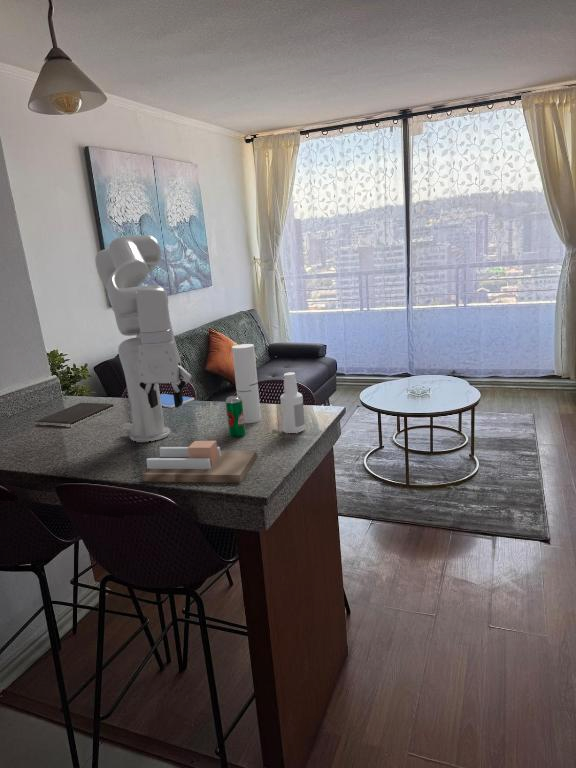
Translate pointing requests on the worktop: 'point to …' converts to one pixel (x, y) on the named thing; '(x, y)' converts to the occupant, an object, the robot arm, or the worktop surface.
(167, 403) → the tablet computer
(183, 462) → the channel
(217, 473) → the board
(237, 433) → the soda can
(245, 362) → the cylindrical container
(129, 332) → the robot arm
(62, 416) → the hardcover book
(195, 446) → the block
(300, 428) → the white bottle
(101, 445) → the worktop surface
